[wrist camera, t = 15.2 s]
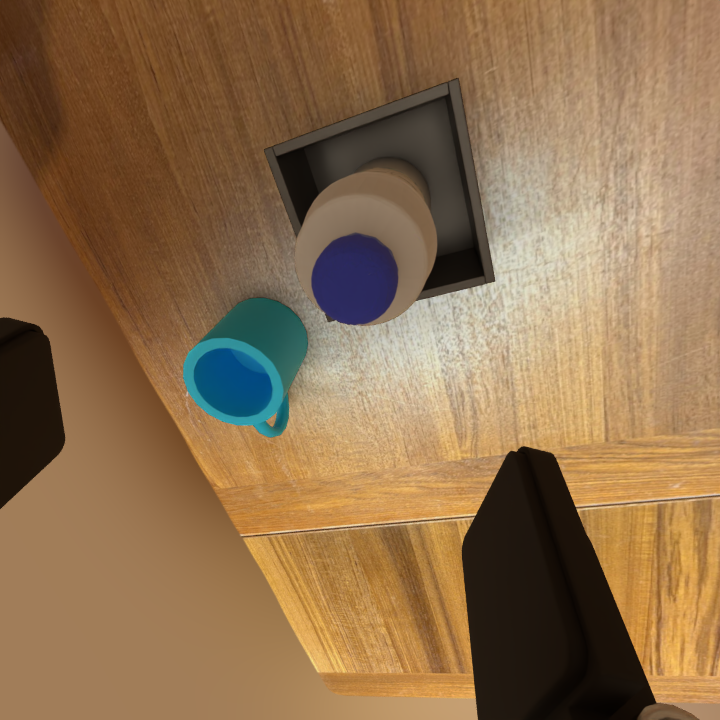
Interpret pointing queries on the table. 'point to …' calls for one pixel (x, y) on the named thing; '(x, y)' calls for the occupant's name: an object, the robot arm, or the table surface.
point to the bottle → (368, 243)
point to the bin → (422, 150)
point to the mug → (248, 365)
